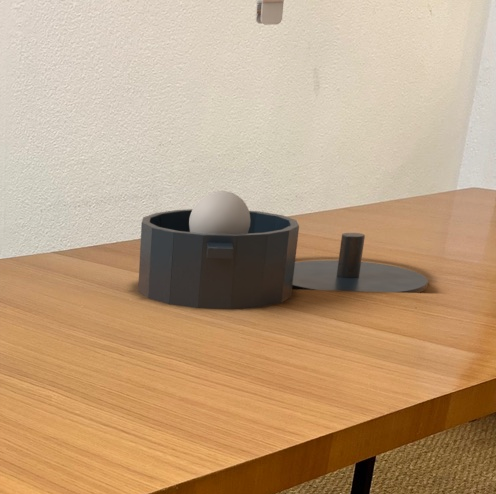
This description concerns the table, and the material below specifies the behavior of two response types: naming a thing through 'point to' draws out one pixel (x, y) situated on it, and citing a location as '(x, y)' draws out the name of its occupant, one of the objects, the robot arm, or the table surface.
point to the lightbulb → (220, 214)
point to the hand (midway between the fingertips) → (267, 24)
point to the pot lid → (355, 272)
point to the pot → (217, 262)
